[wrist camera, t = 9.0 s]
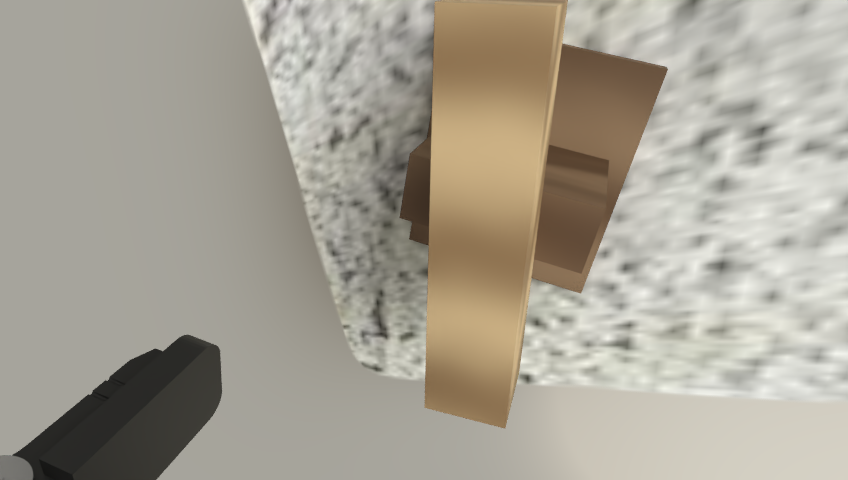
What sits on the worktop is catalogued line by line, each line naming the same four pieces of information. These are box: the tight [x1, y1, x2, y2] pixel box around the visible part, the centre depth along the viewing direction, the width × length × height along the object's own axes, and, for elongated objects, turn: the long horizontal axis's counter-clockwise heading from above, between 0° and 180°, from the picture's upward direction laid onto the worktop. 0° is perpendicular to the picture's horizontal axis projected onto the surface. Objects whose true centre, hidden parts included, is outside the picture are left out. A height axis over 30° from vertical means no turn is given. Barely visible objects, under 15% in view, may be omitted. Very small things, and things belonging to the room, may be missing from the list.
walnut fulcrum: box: [400, 44, 668, 293], centre depth 24 cm, size 12×10×7 cm
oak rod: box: [425, 0, 568, 428], centre depth 20 cm, size 16×4×4 cm, turn 179°
